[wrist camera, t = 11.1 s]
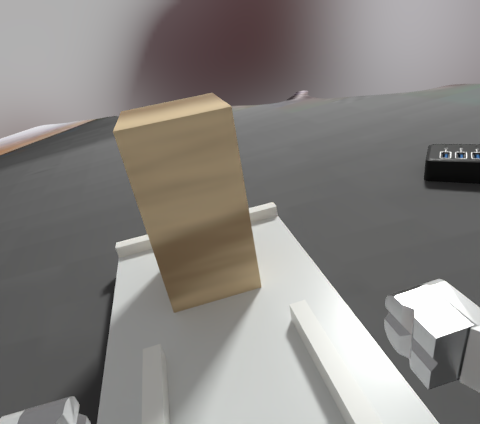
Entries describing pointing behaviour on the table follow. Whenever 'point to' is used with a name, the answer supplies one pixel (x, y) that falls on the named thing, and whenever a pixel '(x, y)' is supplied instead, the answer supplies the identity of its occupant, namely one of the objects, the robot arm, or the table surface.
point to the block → (191, 197)
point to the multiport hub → (453, 163)
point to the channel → (247, 348)
